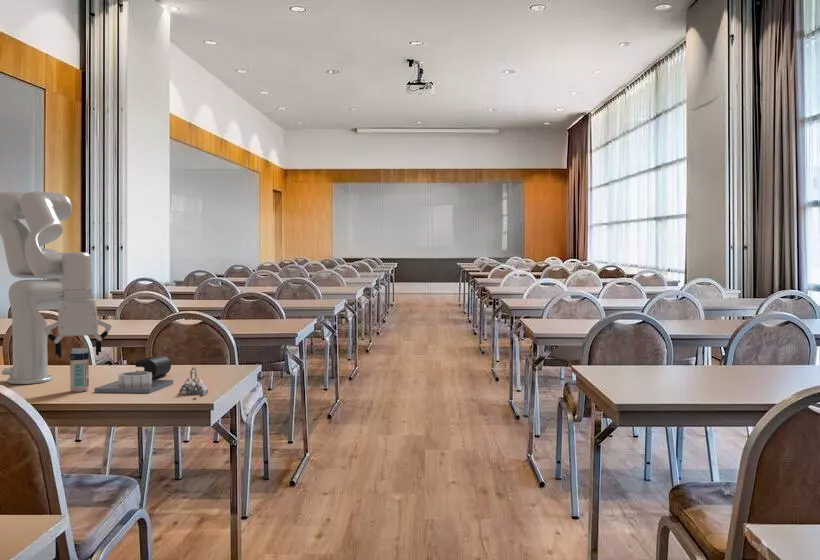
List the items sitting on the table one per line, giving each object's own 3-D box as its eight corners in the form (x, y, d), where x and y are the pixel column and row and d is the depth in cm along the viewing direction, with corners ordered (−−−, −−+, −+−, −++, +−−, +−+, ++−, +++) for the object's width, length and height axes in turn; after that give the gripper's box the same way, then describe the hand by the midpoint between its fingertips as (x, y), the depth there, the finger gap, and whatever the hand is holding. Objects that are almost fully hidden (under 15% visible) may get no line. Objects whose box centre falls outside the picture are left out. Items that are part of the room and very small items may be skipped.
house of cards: (164, 397, 190) (164, 369, 190) (178, 392, 199) (179, 365, 199) (196, 398, 189) (196, 370, 189) (209, 393, 198) (209, 366, 198)
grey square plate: (94, 392, 197) (94, 377, 197) (122, 383, 213) (122, 369, 213) (149, 393, 196) (149, 378, 195) (173, 383, 212) (173, 370, 211)
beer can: (84, 389, 203) (83, 347, 202) (92, 390, 200) (91, 348, 199) (67, 391, 199) (66, 349, 199) (75, 393, 196) (74, 350, 196)
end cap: (156, 381, 217) (156, 359, 217) (134, 381, 218) (134, 359, 218) (171, 376, 227) (171, 355, 227) (150, 376, 228) (150, 355, 228)
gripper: (42, 296, 192) (43, 359, 191) (111, 295, 199) (112, 355, 199) (43, 296, 198) (44, 357, 198) (110, 294, 206) (111, 353, 206)
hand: (78, 356), depth 199 cm, fingers open, 9 cm apart
